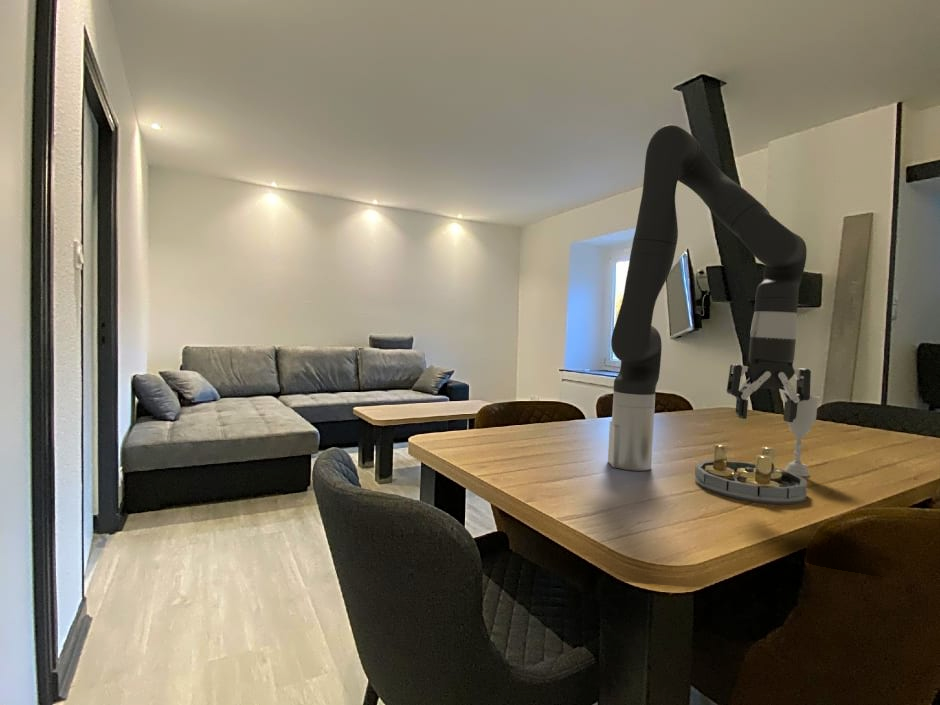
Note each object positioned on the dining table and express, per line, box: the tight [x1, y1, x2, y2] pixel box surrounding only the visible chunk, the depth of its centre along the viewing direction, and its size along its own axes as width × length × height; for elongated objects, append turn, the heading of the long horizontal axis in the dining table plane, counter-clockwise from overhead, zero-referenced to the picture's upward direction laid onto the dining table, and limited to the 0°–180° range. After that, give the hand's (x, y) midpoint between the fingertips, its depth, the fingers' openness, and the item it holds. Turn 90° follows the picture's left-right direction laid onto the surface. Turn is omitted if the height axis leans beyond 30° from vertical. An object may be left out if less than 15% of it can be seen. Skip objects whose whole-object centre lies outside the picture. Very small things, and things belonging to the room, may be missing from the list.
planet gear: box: [746, 454, 779, 487], centre depth 98 cm, size 6×6×7 cm
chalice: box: [784, 394, 821, 477], centre depth 116 cm, size 7×7×18 cm
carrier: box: [694, 443, 808, 505], centre depth 104 cm, size 20×20×8 cm
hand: (765, 419), depth 98 cm, fingers open, 8 cm apart
